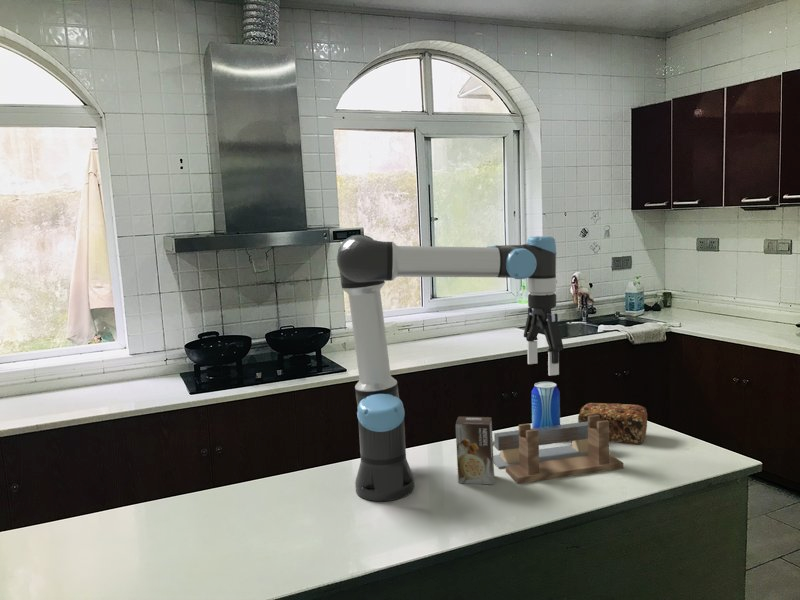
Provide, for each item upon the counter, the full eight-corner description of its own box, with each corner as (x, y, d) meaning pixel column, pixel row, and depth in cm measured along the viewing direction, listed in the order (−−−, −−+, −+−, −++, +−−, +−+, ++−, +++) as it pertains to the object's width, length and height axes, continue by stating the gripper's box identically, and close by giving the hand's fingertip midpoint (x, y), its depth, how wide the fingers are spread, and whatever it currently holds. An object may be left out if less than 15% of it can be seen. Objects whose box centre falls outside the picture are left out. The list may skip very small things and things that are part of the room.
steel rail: (498, 450, 176) (498, 436, 175) (494, 447, 179) (494, 433, 178) (598, 437, 182) (598, 423, 181) (592, 434, 185) (592, 420, 184)
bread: (648, 435, 194) (648, 403, 192) (642, 447, 184) (642, 413, 183) (585, 427, 203) (585, 396, 201) (577, 438, 194) (576, 406, 192)
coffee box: (495, 475, 170) (493, 416, 168) (492, 485, 164) (490, 424, 161) (460, 473, 172) (458, 415, 170) (457, 483, 166) (454, 423, 164)
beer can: (560, 440, 192) (560, 388, 190) (532, 439, 194) (531, 388, 192) (559, 430, 201) (558, 380, 198) (532, 430, 202) (531, 380, 200)
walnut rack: (517, 483, 164) (516, 434, 162) (505, 471, 172) (504, 424, 170) (623, 468, 170) (623, 421, 168) (607, 457, 178) (607, 412, 176)
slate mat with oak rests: (498, 468, 174) (498, 454, 173) (488, 457, 182) (488, 444, 181) (606, 453, 180) (606, 440, 180) (591, 444, 188) (591, 430, 188)
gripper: (576, 297, 163) (576, 378, 166) (535, 287, 188) (536, 358, 190) (549, 299, 162) (549, 381, 165) (511, 289, 186) (512, 360, 189)
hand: (542, 369), depth 178 cm, fingers open, 13 cm apart
